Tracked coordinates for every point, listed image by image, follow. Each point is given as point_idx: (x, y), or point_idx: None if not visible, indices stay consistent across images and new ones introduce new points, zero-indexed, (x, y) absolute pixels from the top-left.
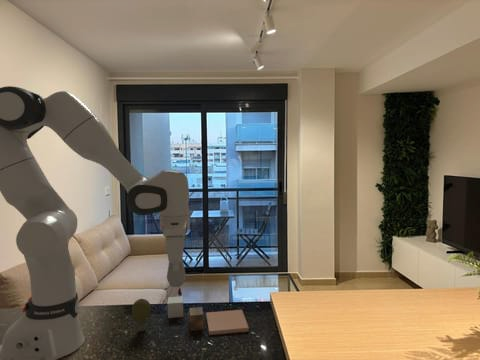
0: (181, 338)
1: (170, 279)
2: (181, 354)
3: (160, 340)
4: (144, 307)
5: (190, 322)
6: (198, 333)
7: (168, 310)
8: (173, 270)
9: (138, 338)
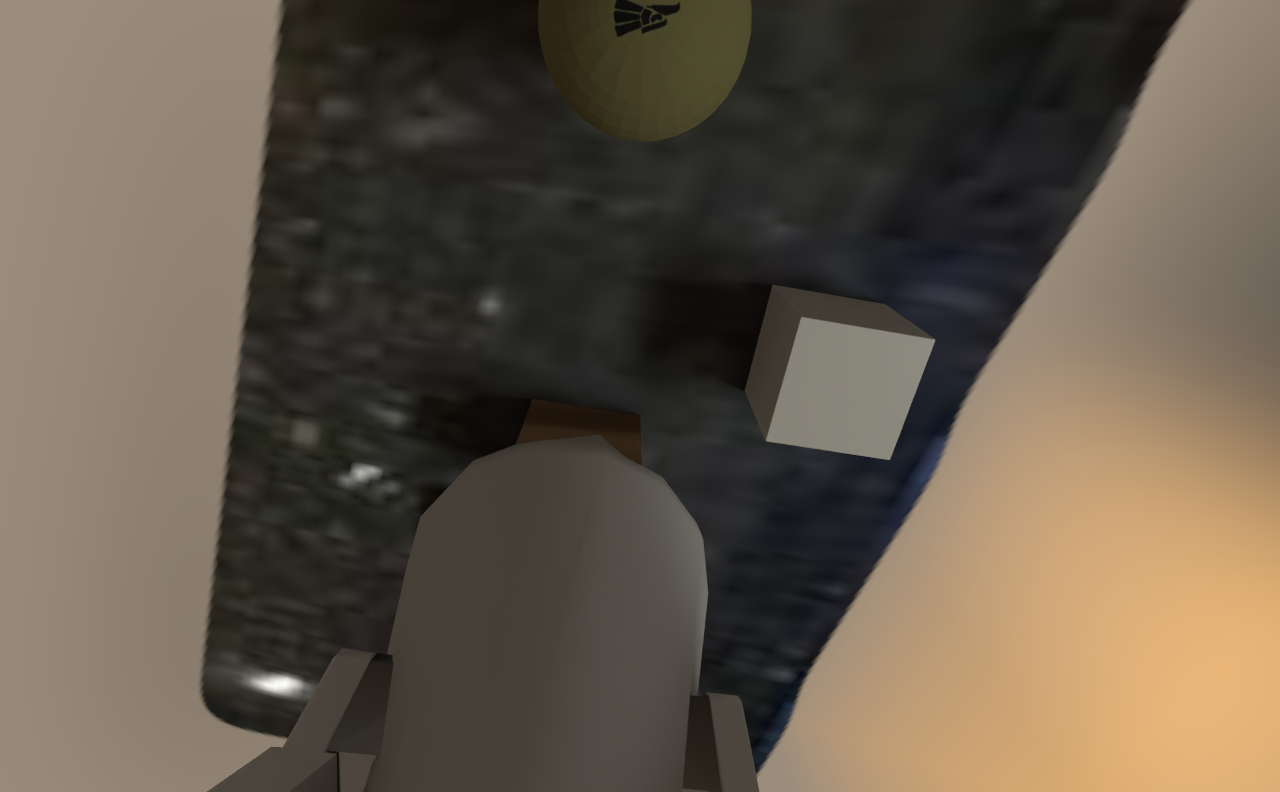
0: (450, 329)
1: (445, 492)
2: (257, 297)
3: (458, 186)
4: (552, 54)
5: (522, 427)
6: (485, 438)
7: (784, 306)
8: (337, 656)
9: (532, 12)
